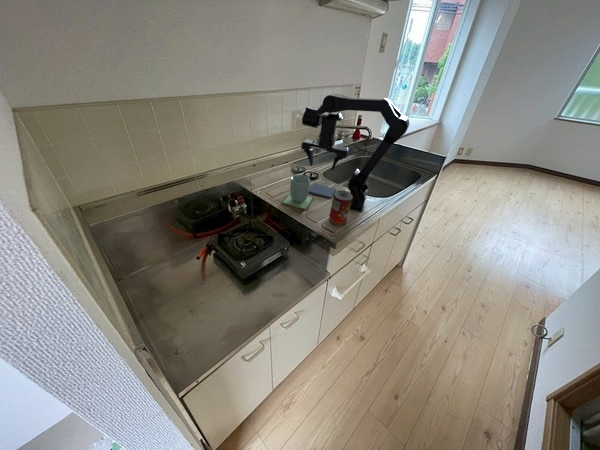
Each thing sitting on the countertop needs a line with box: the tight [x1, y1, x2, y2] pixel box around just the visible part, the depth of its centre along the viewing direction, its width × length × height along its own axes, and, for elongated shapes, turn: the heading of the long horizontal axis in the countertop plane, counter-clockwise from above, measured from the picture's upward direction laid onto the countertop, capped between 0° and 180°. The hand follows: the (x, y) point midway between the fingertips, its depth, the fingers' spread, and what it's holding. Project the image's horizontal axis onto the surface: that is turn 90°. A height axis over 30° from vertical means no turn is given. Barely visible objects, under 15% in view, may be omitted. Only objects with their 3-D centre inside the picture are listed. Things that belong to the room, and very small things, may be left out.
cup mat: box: [282, 194, 313, 211], centre depth 103 cm, size 10×10×1 cm
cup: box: [289, 174, 311, 202], centre depth 100 cm, size 8×8×10 cm
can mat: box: [308, 183, 336, 199], centre depth 113 cm, size 11×9×1 cm
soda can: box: [329, 189, 353, 226], centre depth 91 cm, size 7×7×12 cm
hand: (321, 168), depth 102 cm, fingers open, 9 cm apart
